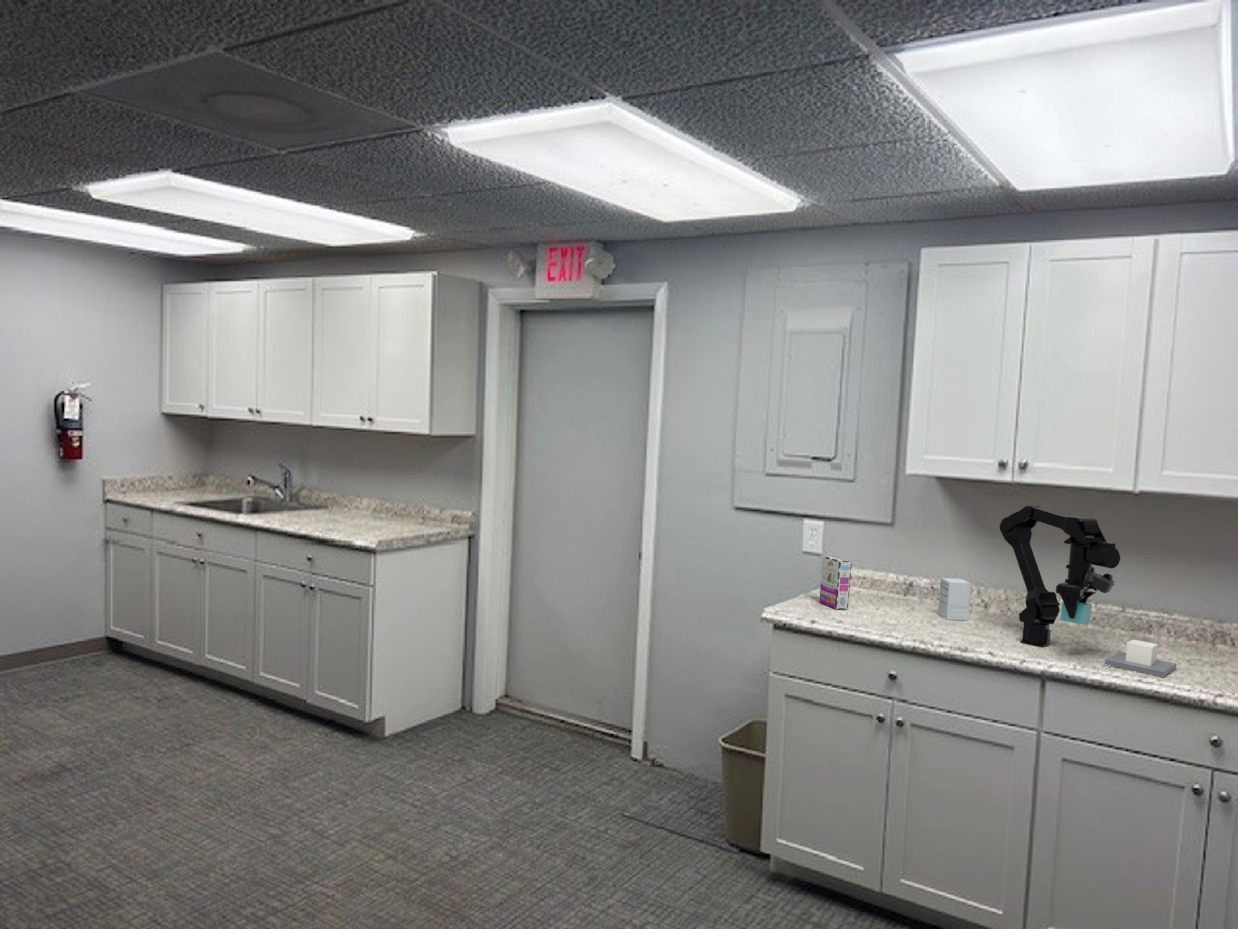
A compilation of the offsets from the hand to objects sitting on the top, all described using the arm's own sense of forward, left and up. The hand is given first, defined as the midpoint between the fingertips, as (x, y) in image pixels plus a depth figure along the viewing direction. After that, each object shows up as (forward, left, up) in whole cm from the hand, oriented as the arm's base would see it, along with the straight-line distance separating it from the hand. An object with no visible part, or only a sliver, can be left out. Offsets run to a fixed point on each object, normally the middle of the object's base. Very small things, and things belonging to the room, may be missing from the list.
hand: (1075, 617), depth 248 cm
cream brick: (+16, +5, -10) cm, 19 cm away
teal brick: (0, 0, -1) cm, 1 cm away
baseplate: (+16, +5, -11) cm, 20 cm away
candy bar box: (-74, -3, -11) cm, 75 cm away
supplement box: (-42, +18, -11) cm, 47 cm away
